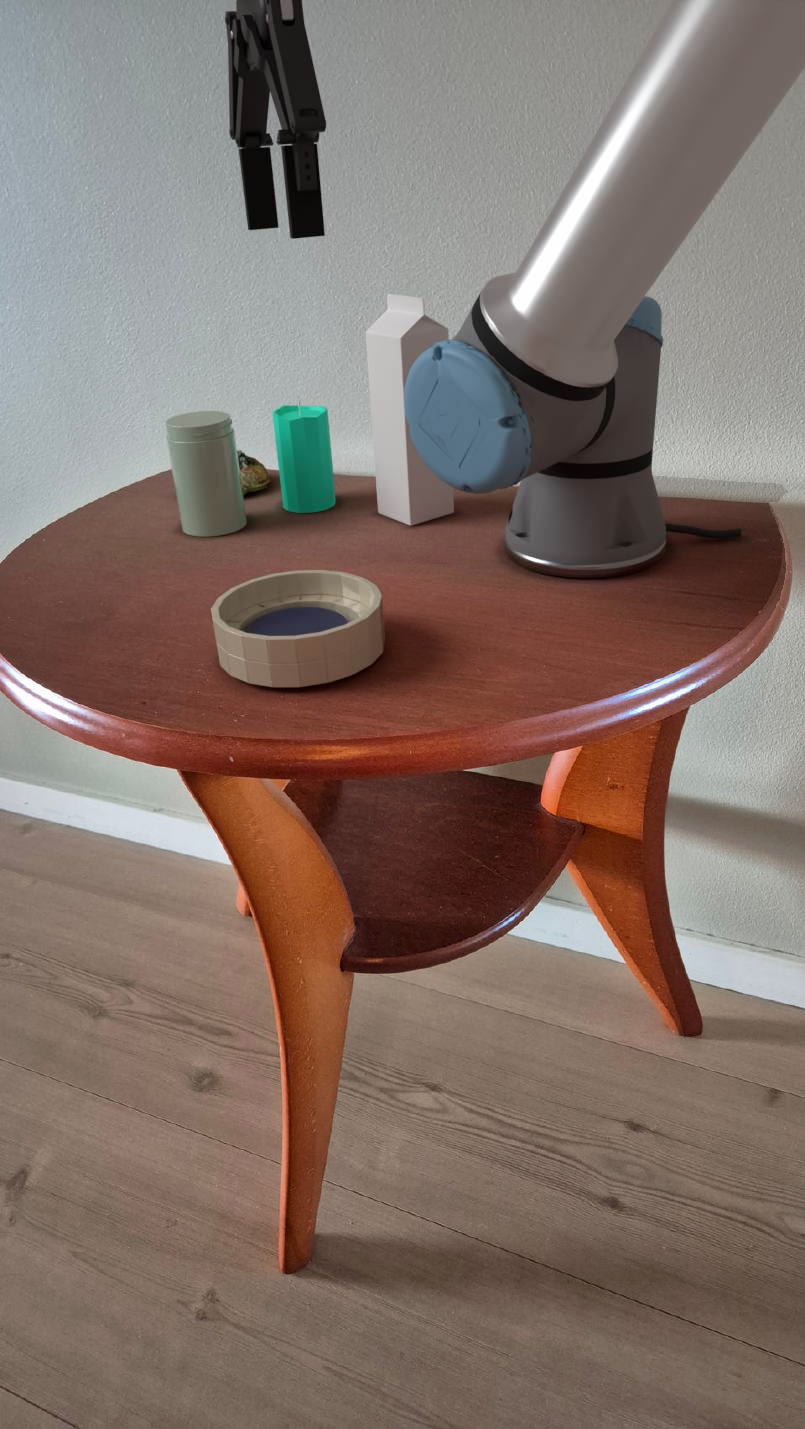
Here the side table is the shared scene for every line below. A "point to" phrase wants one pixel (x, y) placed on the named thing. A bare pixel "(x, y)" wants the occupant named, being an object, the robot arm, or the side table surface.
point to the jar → (206, 473)
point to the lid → (296, 622)
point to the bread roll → (252, 473)
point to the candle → (304, 458)
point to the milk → (401, 413)
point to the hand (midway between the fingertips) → (284, 233)
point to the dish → (301, 654)
